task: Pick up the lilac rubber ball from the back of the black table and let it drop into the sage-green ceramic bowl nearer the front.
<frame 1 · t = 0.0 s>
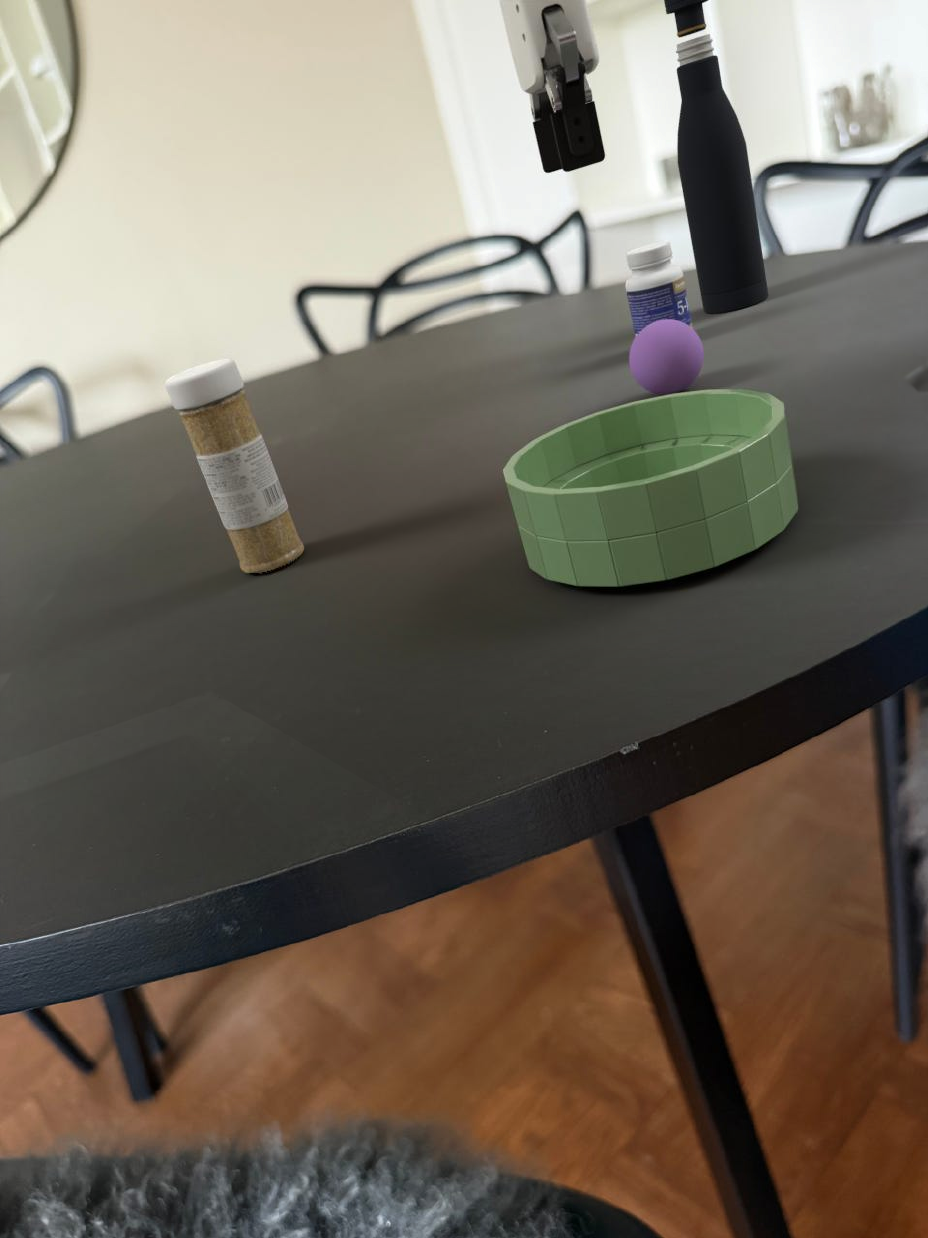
hand: (573, 167, 77), 17 cm above the table, tool pointing down, fingers open, 9 cm apart
ball: (666, 357, 76), point 3 cm above the table
black water bottle: (736, 305, 100), on the table
pill bottle: (666, 346, 93), on the table
spice jar: (275, 564, 67), on the table
bowl: (659, 535, 53), on the table
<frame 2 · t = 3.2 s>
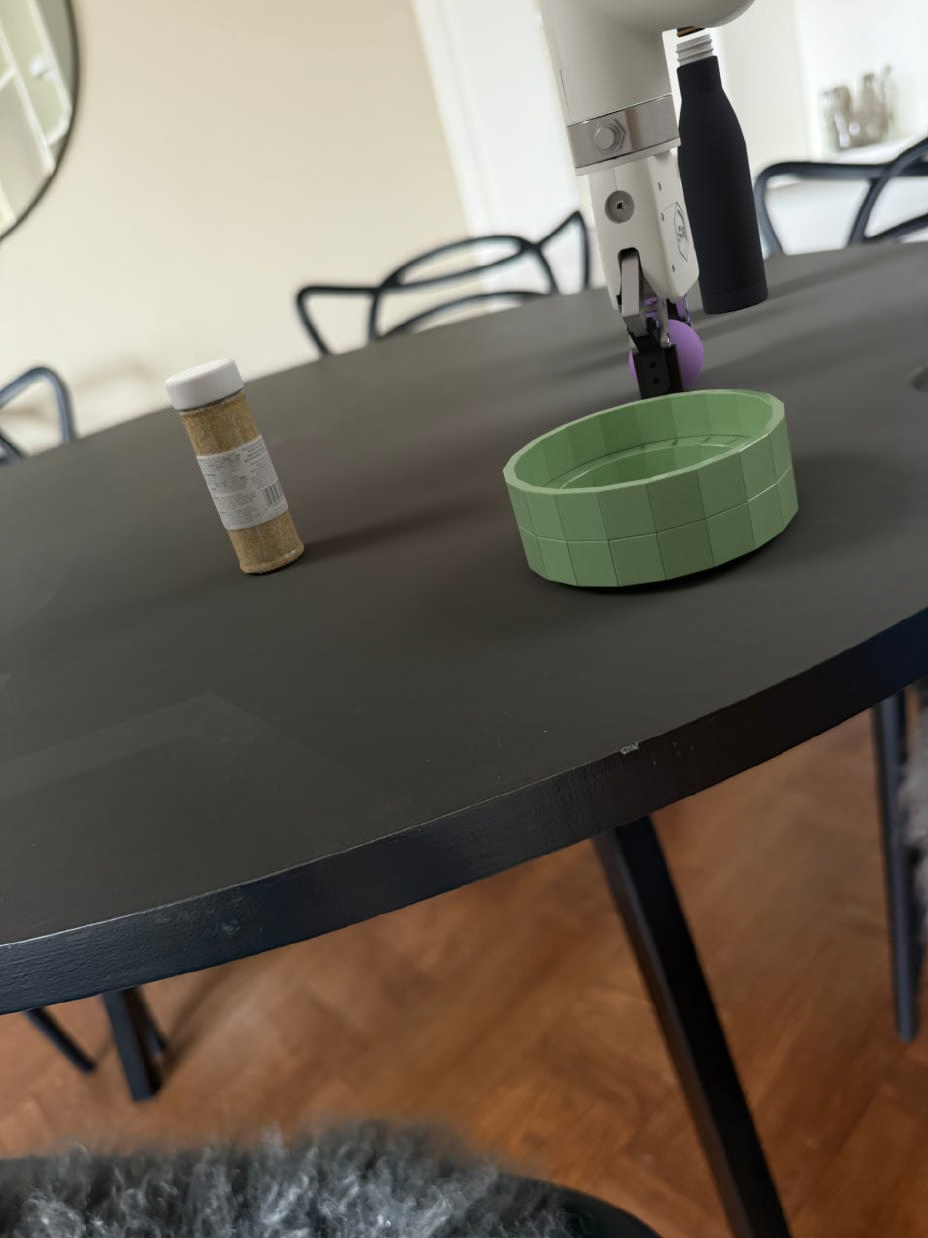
hand: (671, 386, 77), 1 cm above the table, tool pointing down, fingers closed on ball, 5 cm apart
ball: (666, 357, 76), point 3 cm above the table, touching gripper
everything else where it was.
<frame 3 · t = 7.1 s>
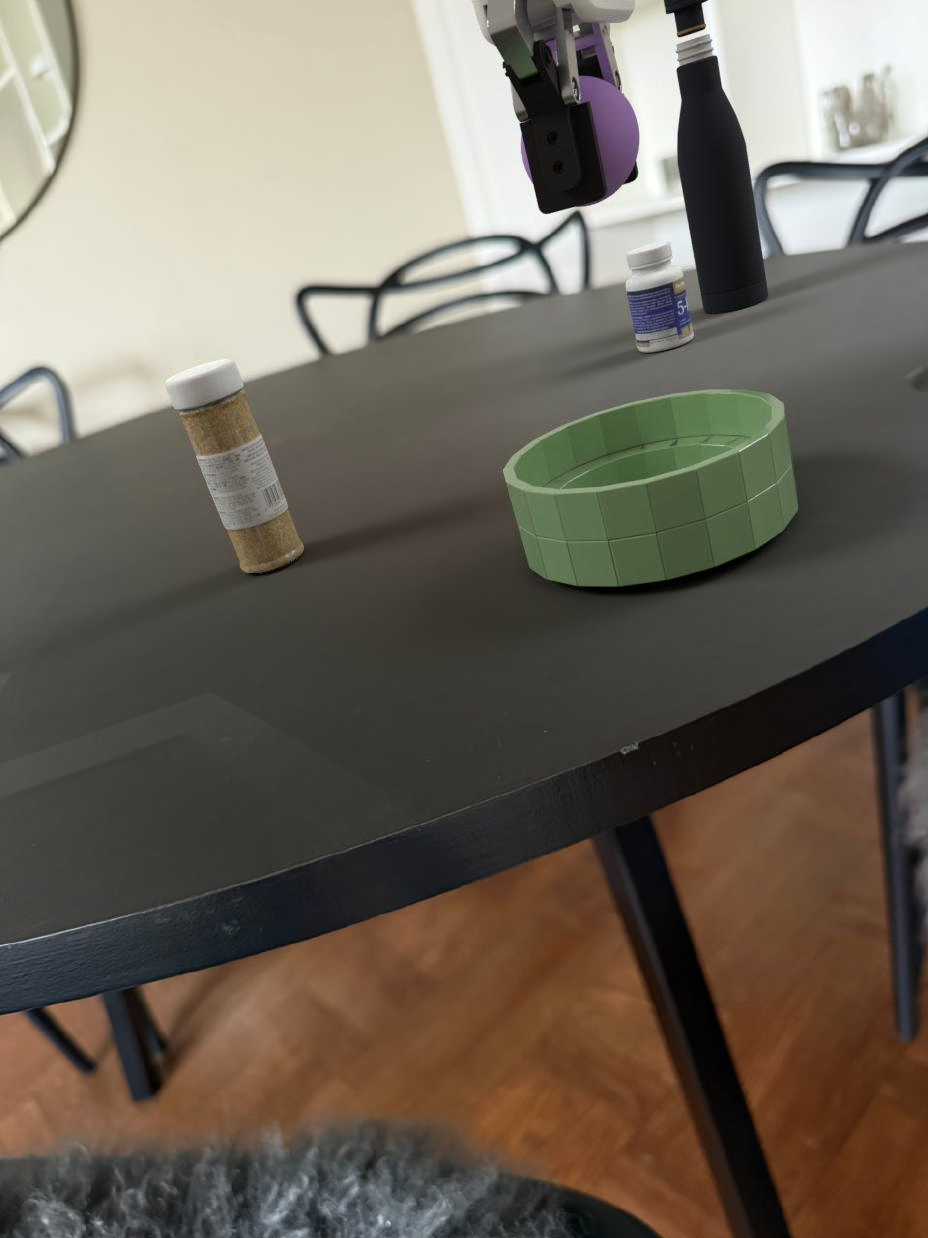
hand: (591, 192, 48), 17 cm above the table, tool pointing down, fingers closed on ball, 5 cm apart
ball: (579, 142, 47), point 19 cm above the table, touching gripper
everything else where it was.
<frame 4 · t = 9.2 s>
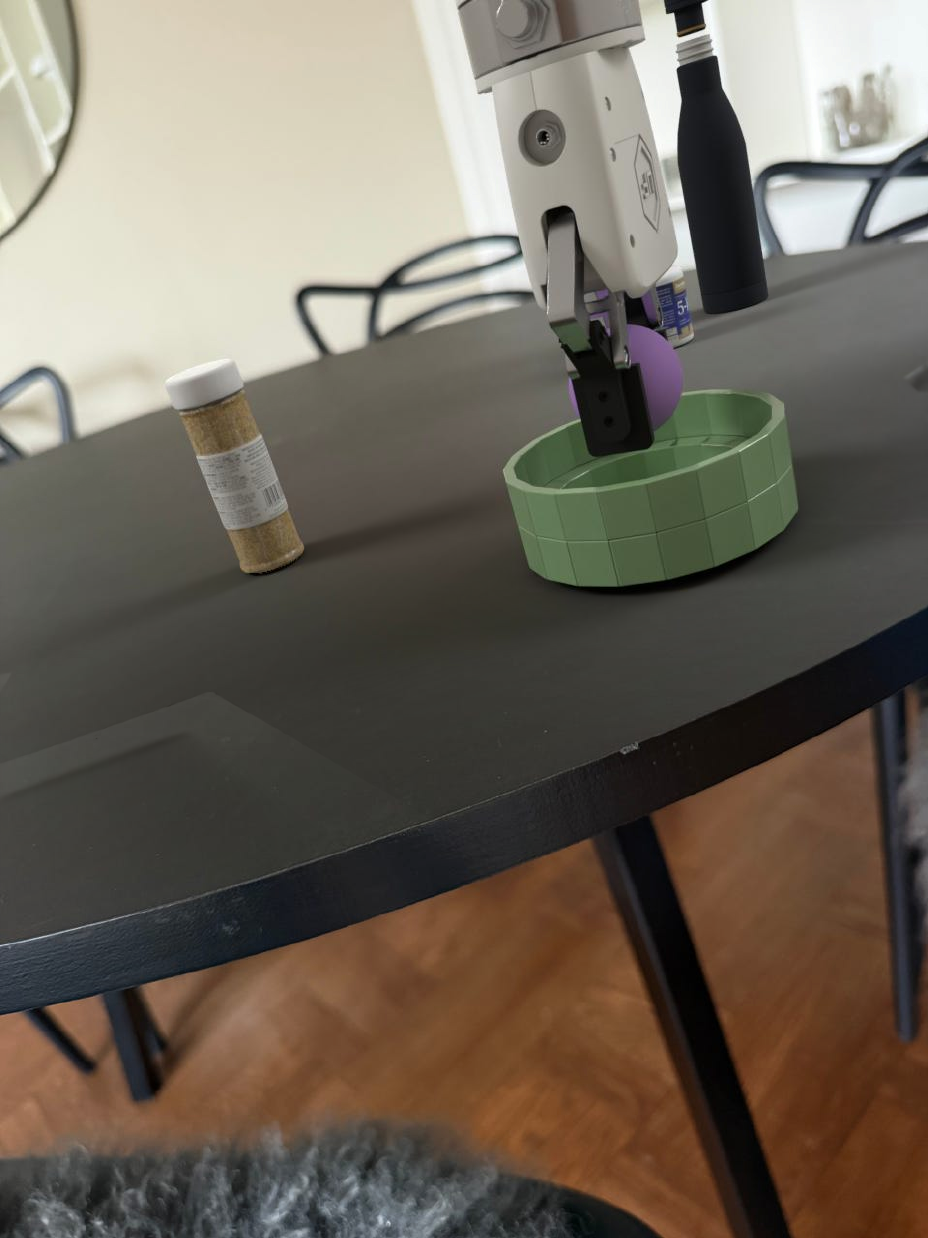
hand: (635, 426, 50), 6 cm above the table, tool pointing down, fingers closed on ball, 5 cm apart
ball: (625, 383, 49), point 8 cm above the table, touching gripper
everything else where it was.
when the fingers open (2 cm above the table, at t = 10.9 s): ball stays where it is, resting on bowl.
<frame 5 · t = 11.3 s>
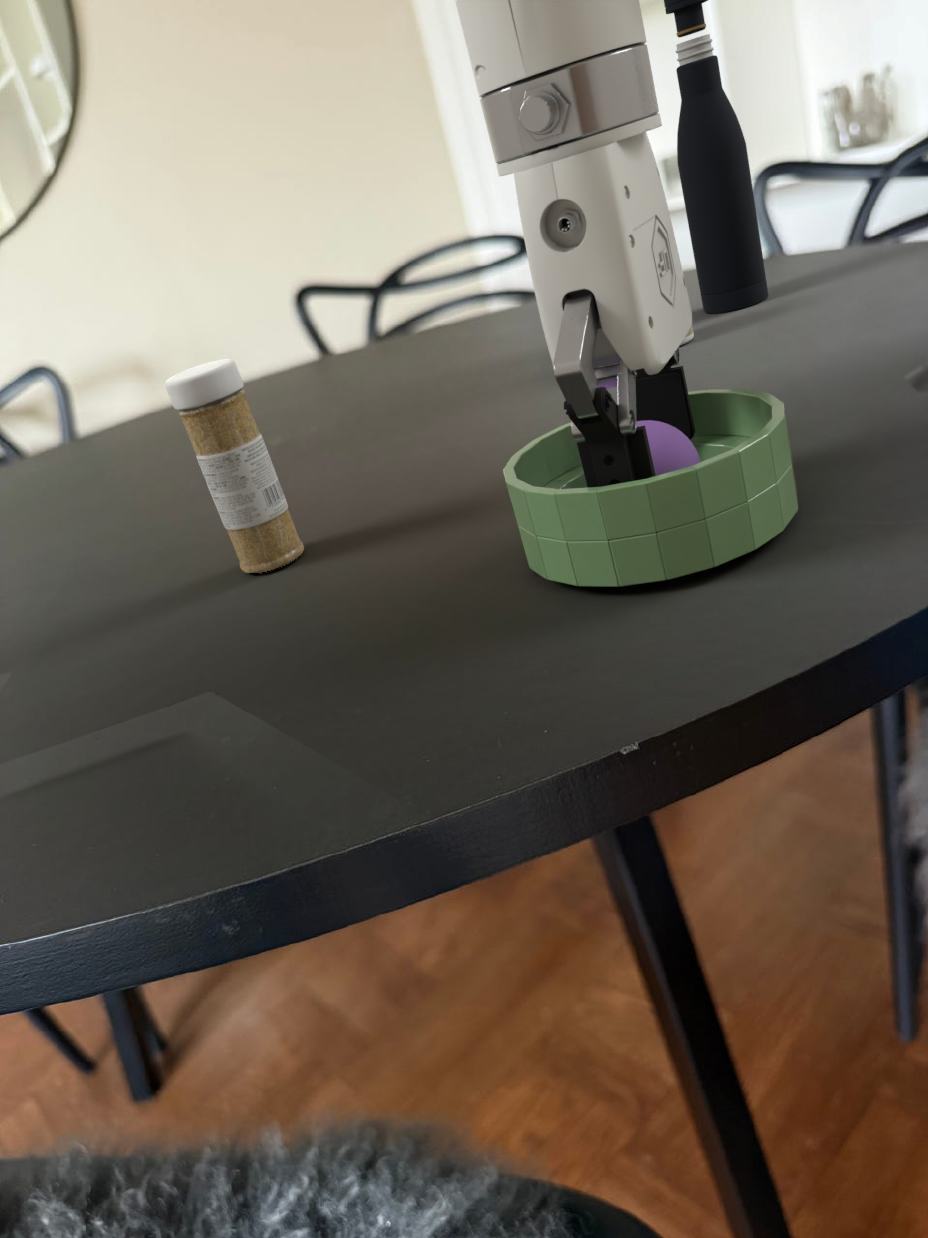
hand: (649, 474, 51), 3 cm above the table, tool pointing down, fingers open, 9 cm apart
ball: (646, 475, 51), point 3 cm above the table, touching bowl
everything else where it was.
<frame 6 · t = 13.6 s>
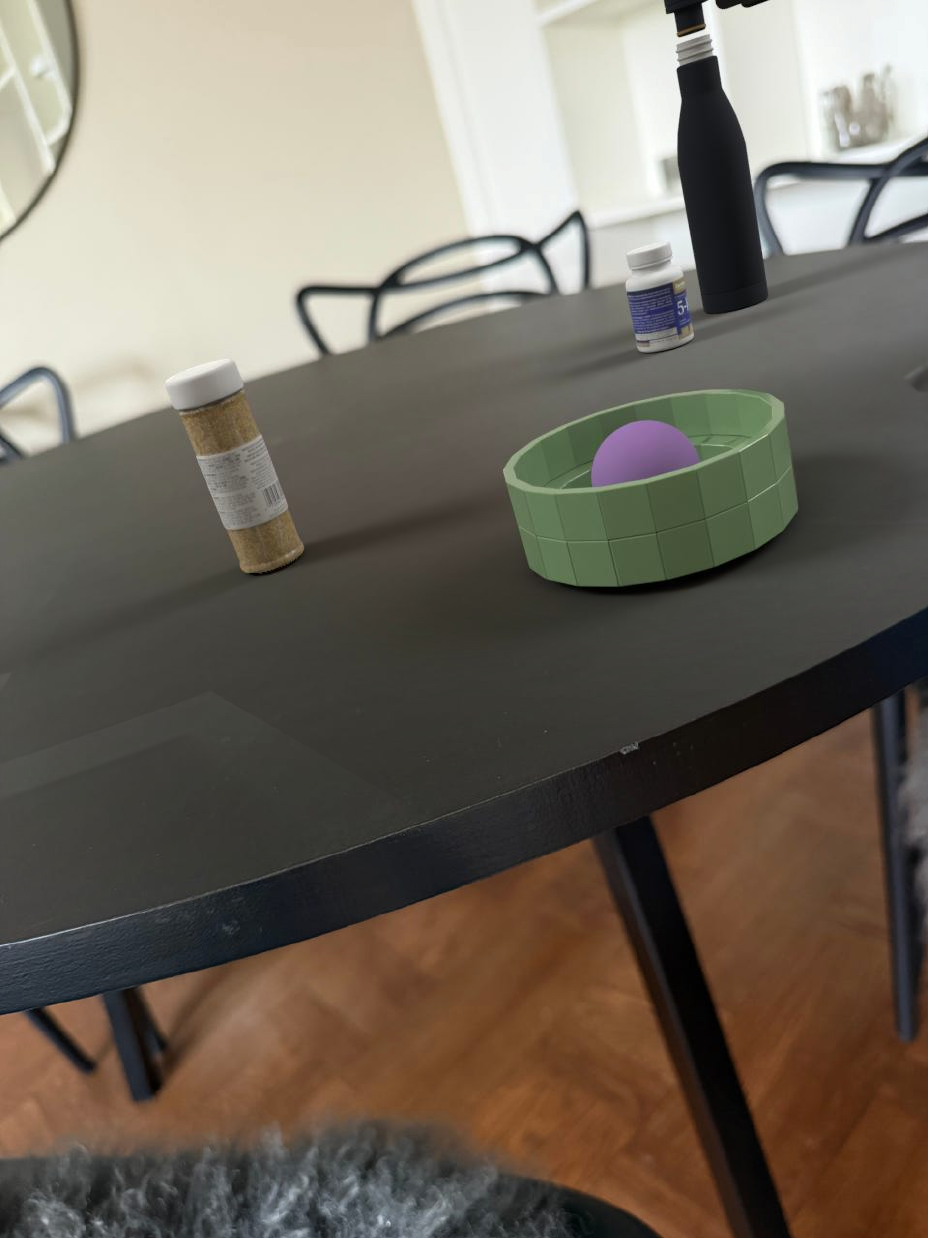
nothing on the table moved.
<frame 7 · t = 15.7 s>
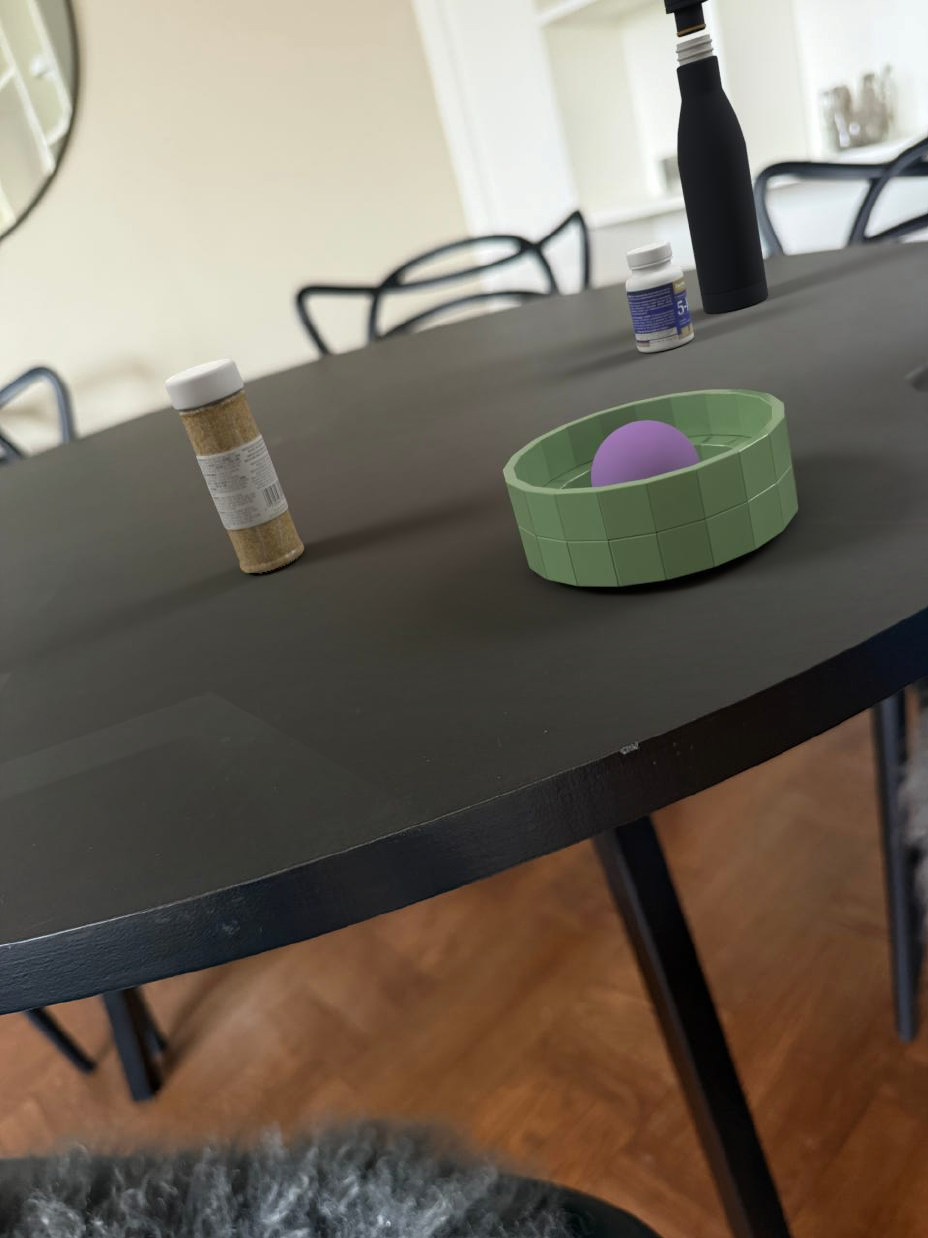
nothing on the table moved.
at the end: ball inside the target area in the bowl (0.1 cm from its centre), point 3.4 cm above the bowl's base; the gripper is holding nothing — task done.
